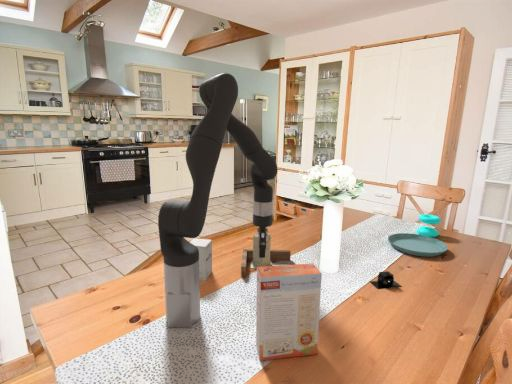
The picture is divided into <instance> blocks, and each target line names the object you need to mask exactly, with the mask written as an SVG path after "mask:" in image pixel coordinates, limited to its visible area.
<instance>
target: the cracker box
mask: <svg viewBox="0 0 512 384" xmlns="http://www.w3.org/2000/svg"><path fill="white" fill-rule="evenodd" d="M321 287H322V272H321V271H320V270H319V269H318V267H317V266H316V265H315V264H314V263H299V264H297V263H296V264H284V265H281V264H280V265H272V266H260V267H257V269H256V318H255V321H256V322H255V323H256V324H255V325H256V326H255V327H256V329H255V330H256V332H255V337H256V338H255V341H256V343H255V344H256V350H257V354H258V359H259V361H267V360H275V359H287V358H294V357H296V358H297V357H304V356H305V357H306V356H312V355H317V354H318V343H319V342H318V341H319V325H320V307H321V293H322V292H321V290H322V288H321Z"/></svg>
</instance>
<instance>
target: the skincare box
mask: <svg viewBox="0 0 512 384" xmlns="http://www.w3.org/2000/svg"><path fill="white" fill-rule="evenodd" d="M252 237H253V238H252V239H253V240H252V241H253V242H252V249H253V260H252V261H253V266H256V267H260V266H266V265H268V264H269V263H270V261H271V260H270V250H271V240H272V237H271V233H268V235H267V242H266V249H265V258H260V257H259V242H258V235H257V233H256V234H255V235H253V236H252ZM261 245H264V242H261Z"/></svg>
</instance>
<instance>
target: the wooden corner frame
mask: <svg viewBox="0 0 512 384" xmlns="http://www.w3.org/2000/svg"><path fill="white" fill-rule="evenodd" d="M291 252H292V251H291V250H290V249H270V263H269V264H268V265H266V266H273V261H277V262H280V261H281V262H282V261H283V262H284V261H285V262H291ZM248 261H250V269H251V270H257V267H256V266H253V248H252V249H251V248H250V249H242V255H241V265H240V267H241V268H240V277H241V278H246V277H247V276H246V275H247V262H248Z"/></svg>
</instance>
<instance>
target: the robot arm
mask: <svg viewBox="0 0 512 384" xmlns="http://www.w3.org/2000/svg"><path fill="white" fill-rule="evenodd" d="M198 93H199V96H200V99H201V101H202V102H203V104H204V106H205V107H206V108H207V109H208V110H207V111H206V113H205V115H204V116H203V117H202V118H201V120H200V121H199V123H198V124H197V125H196V126H195V128H194V129H193V131H192V133H191V136H190V138H189V141H188V144H187V147H186V150H185V162H186V165H187V168H188V171H189V174H190V176H191V180H192V186H193V187H192V191H191V192H192V193H191V198H190V200H189V201H185V200H183V201H182V200H176V199H175V200H174V199H172V200H171V199H169V200H166V201H164V202H163V204H162V205H161V207H160V208H159V211H158V219H157V222H158V223H157V226H158V234H159V235H158V236H159V246H160V252H161V255H162V258H163V267H164V268H163V275H164V297H165V298H164V299H165V315H166V316H165V318H166V319H165V320H166V323H167V327H168V328H192V327H193V325H194V324H196V323H197V322H198V321H199V319H201V294H200V293H201V291H200V290H201V288H200V285H201V284H200V282H201V280H200V279H199V250H198V248H197V247H196V246H195V245H193V244H191V243H190V241H189V240H188V239H194V238H196V239H197V237H199V236H200V235H201V233H202V232H203V229H204V226H205V222H206V218H207V212H208V206H209V200H210V195H211V190H212V186H213V185H212V184H213V180H214V176H215V172H216V170H217V169H216V168H217V165H218V161H219V158H220V154H221V151H222V147H223V141H224V138H225V134H226V131H227V132H228V134H229V135H230V136H231V137H232V138H233V140H234V142H235V143H236V144H237V146H238V148H239V149H240V151H241V153H242V154H243V156H244V157H245V159H247V160H248V161H251V167H250V176H251V181H252V186H253V205H252V225H253V226H255V227H257V229H256V234H257V235H258V242H259V257H260V258H265V249H266V242H267V235H268V232H269V230H268V228H269V227H271V226H273V223H274V222H273V218H274V202H273V200H274V196H273V195H274V188H273V187H272V186H271V184H269V183H268V180H269V181H270V180H272V179H274V178H275V177H276V176H277V175H278V171H279V170H278V165H277V163H276V161H275V160H274V158H273V157H272V155H270V154H269V152H268V151H267V150H266V149H265V148H264V147H263V145H262V143H261V142H260V140H259V138H258V137H257V136H256V135H257V134H256V133H255V132H254V131H253V130H252V129H251V128H250V127H249V126H248V125H247V124H245V123H244V122H243V121H241V120H239V119H238V118H237V117H236V116H235V115H234V114H233V110H234V107H235V106H236V103H237V99H238V97H239V86H238V81H237V80H236V78H235V76H233V75H232V74H231V73H228V72H223V73H220V74H217V75H214V76H212V77H210V78H208V79H206V80H204V81H202V82H201V84H200V86H199V90H198ZM186 238H187V239H186ZM261 242H264V245H261Z"/></svg>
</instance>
